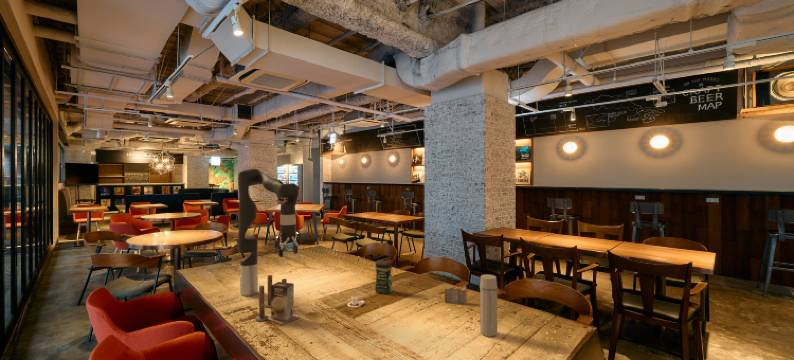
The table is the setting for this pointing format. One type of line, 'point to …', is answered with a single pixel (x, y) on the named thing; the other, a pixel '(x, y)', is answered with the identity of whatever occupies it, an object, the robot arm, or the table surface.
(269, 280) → the post
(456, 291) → the architectural model on board
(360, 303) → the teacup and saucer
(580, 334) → the table surface
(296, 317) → the pad
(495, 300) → the water bottle
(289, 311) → the coffee box
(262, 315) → the post
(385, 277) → the coffee jar
